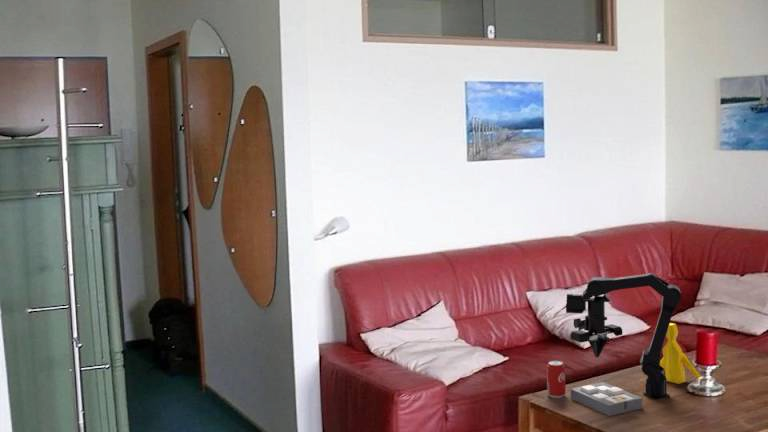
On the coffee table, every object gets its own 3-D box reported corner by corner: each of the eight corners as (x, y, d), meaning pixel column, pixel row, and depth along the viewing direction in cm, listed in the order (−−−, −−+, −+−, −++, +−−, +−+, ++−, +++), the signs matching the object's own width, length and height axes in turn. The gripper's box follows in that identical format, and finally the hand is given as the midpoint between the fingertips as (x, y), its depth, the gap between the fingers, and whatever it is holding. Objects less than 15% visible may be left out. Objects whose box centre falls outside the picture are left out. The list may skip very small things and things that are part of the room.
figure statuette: (703, 384, 298) (703, 324, 295) (691, 389, 293) (691, 328, 290) (659, 374, 312) (658, 316, 309) (647, 379, 307) (646, 320, 304)
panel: (603, 391, 295) (602, 381, 295) (642, 408, 277) (642, 397, 277) (570, 398, 289) (570, 387, 289) (608, 416, 271) (608, 404, 271)
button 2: (601, 400, 284) (601, 393, 283) (609, 403, 280) (609, 396, 280) (592, 402, 282) (592, 395, 282) (599, 405, 278) (599, 398, 278)
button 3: (604, 392, 291) (604, 385, 291) (611, 395, 288) (611, 388, 288) (594, 394, 290) (594, 387, 290) (602, 397, 286) (602, 390, 286)
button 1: (590, 391, 289) (590, 384, 289) (597, 395, 285) (597, 388, 285) (580, 393, 287) (580, 386, 287) (588, 397, 284) (588, 390, 283)
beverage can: (565, 399, 289) (564, 365, 288) (547, 398, 291) (546, 365, 289) (565, 393, 295) (564, 360, 294) (547, 392, 297) (546, 360, 295)
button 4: (615, 393, 286) (615, 386, 286) (623, 396, 282) (623, 389, 282) (606, 395, 284) (606, 388, 284) (613, 399, 281) (613, 391, 280)
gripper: (602, 305, 302) (603, 347, 304) (560, 312, 294) (561, 355, 296) (623, 311, 292) (623, 355, 294) (580, 319, 284) (580, 363, 286)
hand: (596, 357), depth 293 cm, fingers closed
